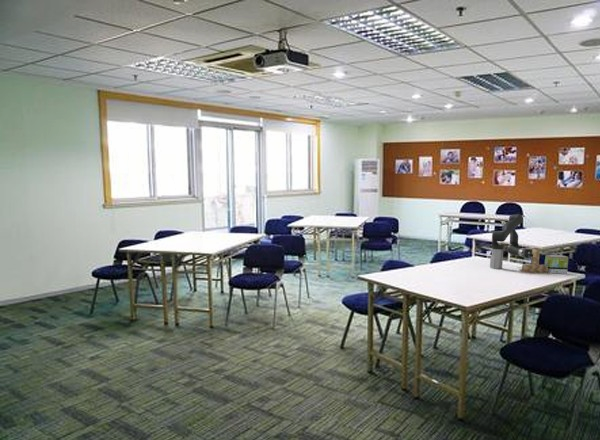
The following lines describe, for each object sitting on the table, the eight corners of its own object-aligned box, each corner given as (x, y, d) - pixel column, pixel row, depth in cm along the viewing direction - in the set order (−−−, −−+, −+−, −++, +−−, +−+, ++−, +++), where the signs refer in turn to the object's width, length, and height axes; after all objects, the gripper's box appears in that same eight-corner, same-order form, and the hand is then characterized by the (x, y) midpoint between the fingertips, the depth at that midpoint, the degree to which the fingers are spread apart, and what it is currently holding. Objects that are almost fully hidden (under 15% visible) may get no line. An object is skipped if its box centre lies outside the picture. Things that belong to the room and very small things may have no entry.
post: (534, 265, 392) (535, 249, 391) (531, 264, 396) (532, 248, 395) (538, 265, 392) (539, 249, 392) (535, 264, 396) (536, 248, 396)
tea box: (551, 273, 390) (552, 256, 389) (543, 271, 400) (544, 254, 399) (567, 273, 392) (568, 256, 391) (559, 271, 402) (560, 254, 401)
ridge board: (529, 273, 386) (529, 266, 386) (519, 270, 399) (519, 263, 399) (550, 273, 390) (550, 266, 389) (539, 270, 403) (540, 263, 402)
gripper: (517, 248, 406) (530, 251, 390) (532, 248, 409) (545, 251, 393) (517, 257, 407) (529, 259, 391) (531, 257, 409) (544, 260, 393)
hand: (537, 255), depth 392 cm, fingers open, 8 cm apart
